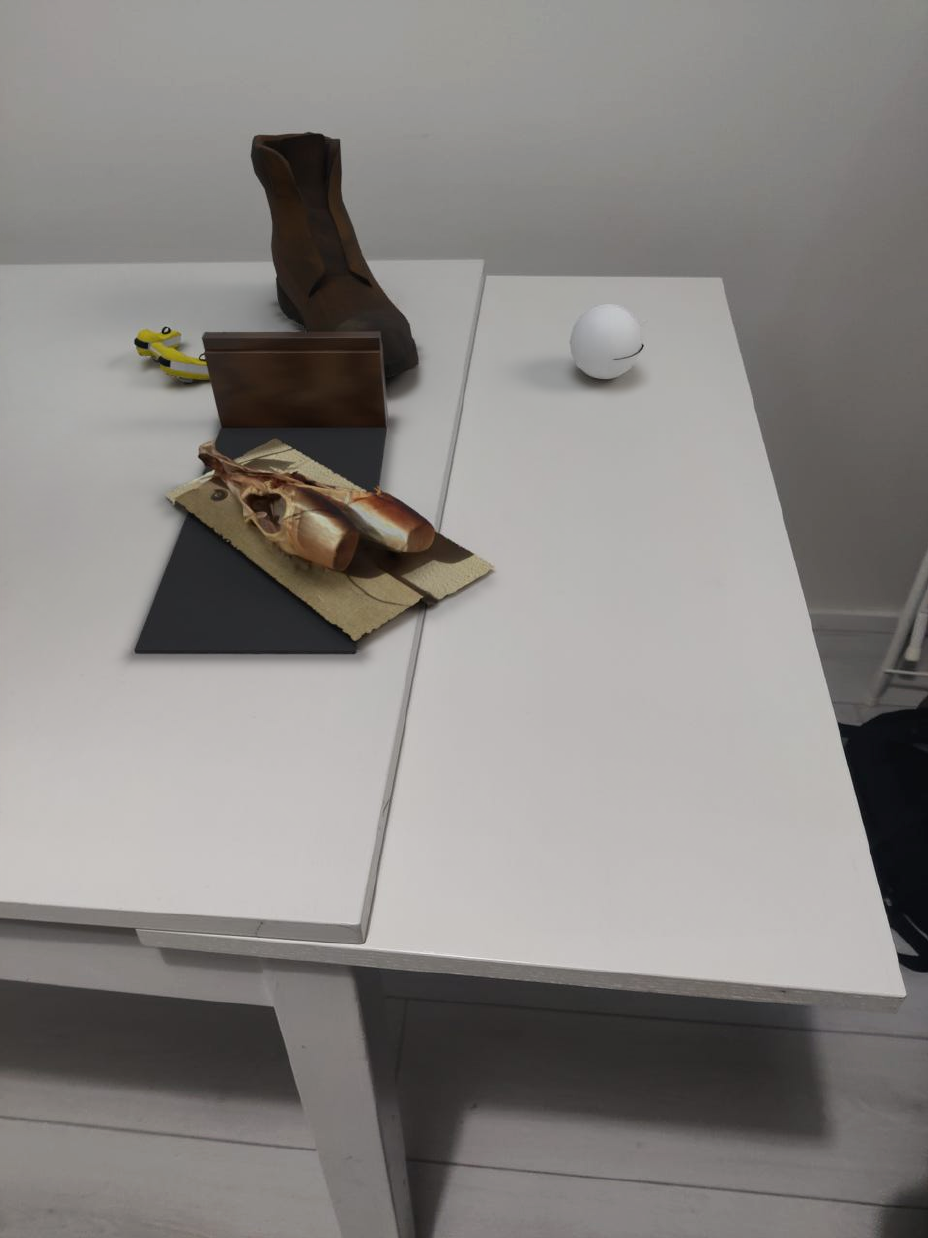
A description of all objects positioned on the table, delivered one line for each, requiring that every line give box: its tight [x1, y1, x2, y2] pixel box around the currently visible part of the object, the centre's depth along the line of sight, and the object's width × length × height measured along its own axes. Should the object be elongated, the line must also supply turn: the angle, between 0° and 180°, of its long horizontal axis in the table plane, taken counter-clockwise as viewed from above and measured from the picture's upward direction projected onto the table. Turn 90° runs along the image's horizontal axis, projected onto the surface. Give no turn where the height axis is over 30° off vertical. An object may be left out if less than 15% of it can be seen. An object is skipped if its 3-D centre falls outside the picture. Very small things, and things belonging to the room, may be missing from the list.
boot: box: [250, 131, 420, 379], centre depth 91 cm, size 11×30×20 cm, turn 27°
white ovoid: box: [569, 303, 648, 380], centre depth 89 cm, size 10×7×7 cm
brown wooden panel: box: [201, 331, 389, 429], centre depth 82 cm, size 16×2×9 cm, turn 89°
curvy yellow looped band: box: [133, 326, 210, 384], centre depth 92 cm, size 10×6×4 cm, turn 42°
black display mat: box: [134, 427, 387, 654], centre depth 74 cm, size 16×30×1 cm, turn 179°
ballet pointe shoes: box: [164, 439, 496, 641], centre depth 70 cm, size 14×7×28 cm
